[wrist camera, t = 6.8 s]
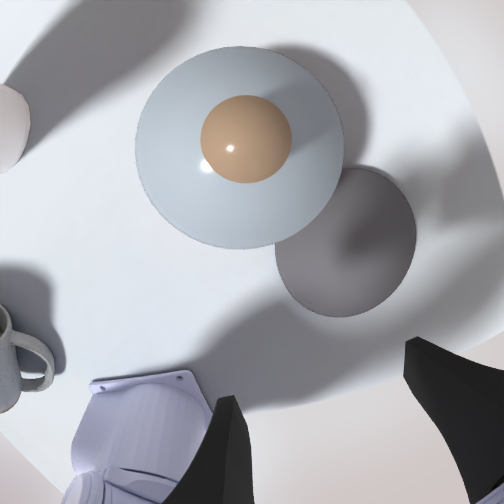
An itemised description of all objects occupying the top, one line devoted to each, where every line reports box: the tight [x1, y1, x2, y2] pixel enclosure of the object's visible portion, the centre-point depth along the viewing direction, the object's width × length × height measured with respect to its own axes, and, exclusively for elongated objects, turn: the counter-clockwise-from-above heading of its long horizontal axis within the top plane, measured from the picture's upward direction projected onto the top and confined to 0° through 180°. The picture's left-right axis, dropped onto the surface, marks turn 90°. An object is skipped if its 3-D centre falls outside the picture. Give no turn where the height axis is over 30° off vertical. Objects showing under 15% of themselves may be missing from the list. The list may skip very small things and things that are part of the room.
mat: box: [275, 169, 416, 317], centre depth 19 cm, size 10×10×1 cm
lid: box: [135, 46, 344, 249], centre depth 11 cm, size 10×10×4 cm
